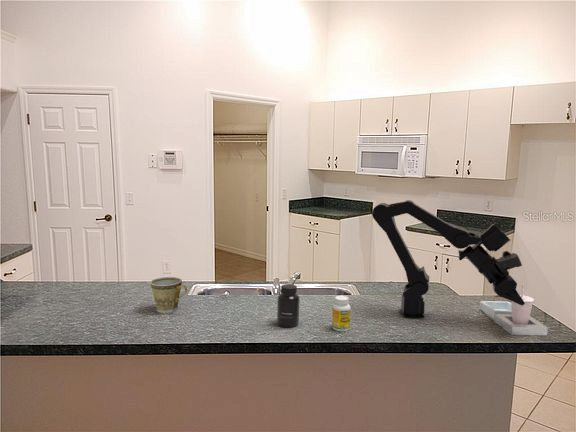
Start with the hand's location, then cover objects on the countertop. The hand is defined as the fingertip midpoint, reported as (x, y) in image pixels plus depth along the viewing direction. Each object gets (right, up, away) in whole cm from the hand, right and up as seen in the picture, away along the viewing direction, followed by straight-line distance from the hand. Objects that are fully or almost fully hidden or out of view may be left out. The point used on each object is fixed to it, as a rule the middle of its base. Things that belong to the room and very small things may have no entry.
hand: (520, 299), depth 125 cm
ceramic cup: (-110, -6, +12) cm, 111 cm away
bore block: (0, -9, +1) cm, 9 cm away
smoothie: (0, -9, +1) cm, 9 cm away
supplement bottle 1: (-71, -8, +2) cm, 71 cm away
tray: (0, -8, +12) cm, 14 cm away
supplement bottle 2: (-55, -9, -1) cm, 55 cm away
